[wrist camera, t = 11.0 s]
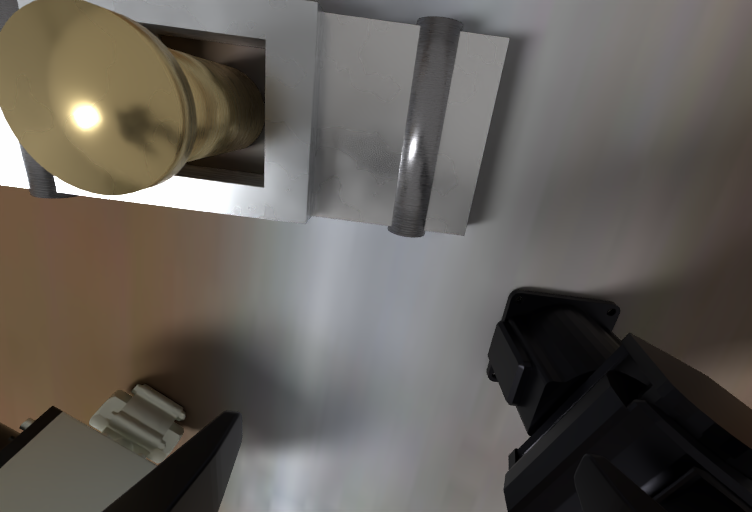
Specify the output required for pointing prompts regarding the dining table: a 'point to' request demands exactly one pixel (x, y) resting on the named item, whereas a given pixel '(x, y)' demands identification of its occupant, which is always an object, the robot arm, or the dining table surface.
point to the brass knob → (116, 98)
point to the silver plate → (327, 116)
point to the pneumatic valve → (86, 453)
